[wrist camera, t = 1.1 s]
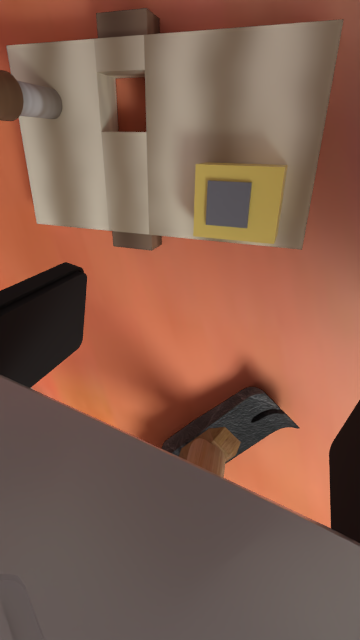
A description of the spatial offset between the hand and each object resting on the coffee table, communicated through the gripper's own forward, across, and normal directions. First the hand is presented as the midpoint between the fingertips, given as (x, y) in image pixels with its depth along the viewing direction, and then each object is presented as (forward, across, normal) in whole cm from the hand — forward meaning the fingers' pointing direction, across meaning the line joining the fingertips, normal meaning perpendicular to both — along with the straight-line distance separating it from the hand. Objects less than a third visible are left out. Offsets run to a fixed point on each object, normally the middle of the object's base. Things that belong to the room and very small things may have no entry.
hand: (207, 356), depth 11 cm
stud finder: (+19, +3, -2) cm, 19 cm away
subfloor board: (+22, +11, -4) cm, 25 cm away
